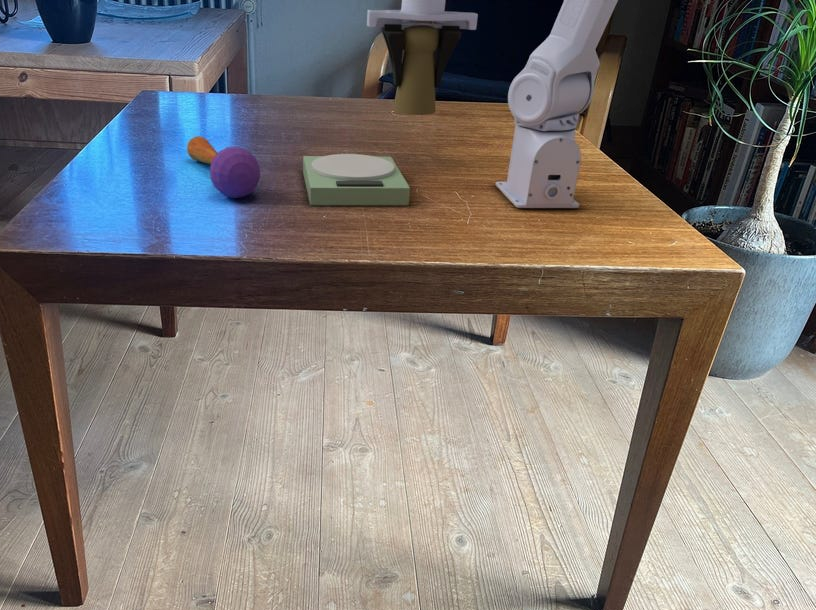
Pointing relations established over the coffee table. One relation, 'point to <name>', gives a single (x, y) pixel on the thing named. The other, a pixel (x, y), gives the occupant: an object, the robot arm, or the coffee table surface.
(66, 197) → the coffee table surface
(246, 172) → the maraca
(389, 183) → the scale
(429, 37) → the cork
